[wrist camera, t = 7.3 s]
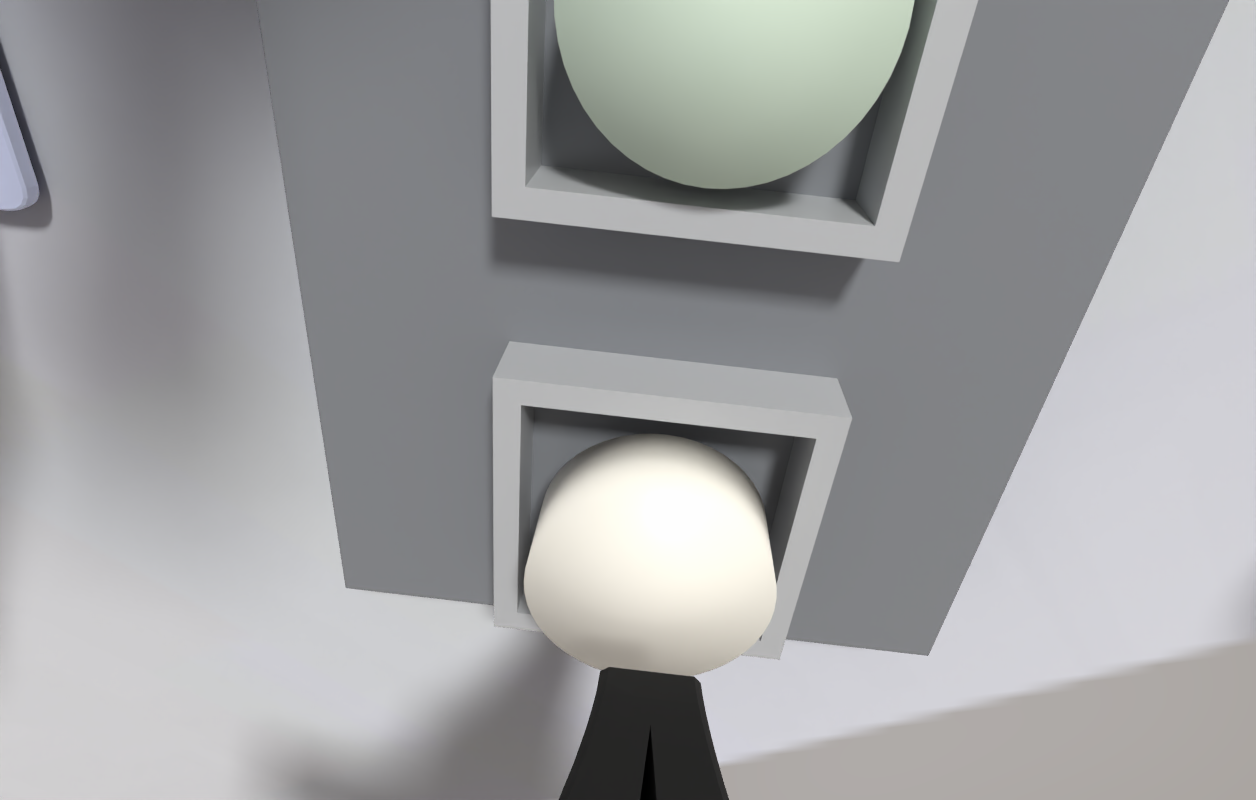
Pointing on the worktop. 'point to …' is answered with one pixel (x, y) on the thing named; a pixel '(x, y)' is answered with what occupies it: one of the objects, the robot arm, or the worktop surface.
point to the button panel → (704, 289)
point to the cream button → (651, 557)
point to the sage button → (729, 79)
